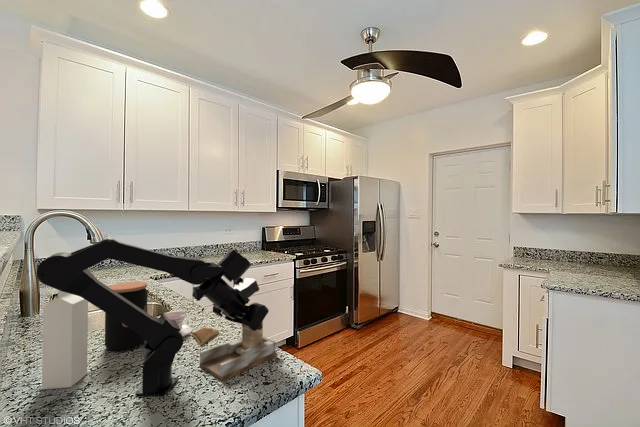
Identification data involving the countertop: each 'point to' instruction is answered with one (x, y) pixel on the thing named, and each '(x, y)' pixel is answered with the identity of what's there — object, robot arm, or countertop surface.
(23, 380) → the countertop surface
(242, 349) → the beech peg
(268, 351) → the grey brown open tray
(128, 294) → the coffee jar
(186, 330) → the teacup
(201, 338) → the folded crepe
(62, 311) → the milk
